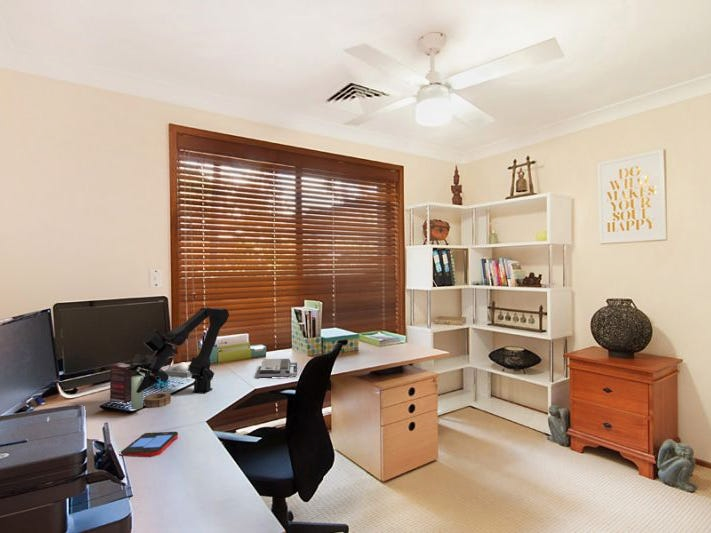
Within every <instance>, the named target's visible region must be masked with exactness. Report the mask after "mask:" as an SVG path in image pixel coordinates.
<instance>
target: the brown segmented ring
mask: <svg viewBox="0 0 711 533" xmlns="http://www.w3.org/2000/svg"><path fill="white" fill-rule="evenodd" d="M171 398H172V395H171V393H170V392H164V391H163V392H154V393H149V394H147V395H145V397H143V405H144V404H145V408H150V409H151V408H152V409H153V408H162V407H164V406H167V405H169V404H170V403H171V401H172V399H171Z"/></svg>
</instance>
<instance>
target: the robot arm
mask: <svg viewBox="0 0 711 533" xmlns="http://www.w3.org/2000/svg"><path fill="white" fill-rule="evenodd" d="M229 316H230V313H229V310H228V309H226V308H223V307H222V308H220V307H214V308H211V307H205V306H203V307H200V308H199V310H198V311H197V312H196V313H194V314H193V315H192V316H190V318H188V320H186V321H185V322H184V323H183V324H181V325H180V326H177V327H174V328H172V329H171V330H169V331H167V332H166V334H161V332H160V331H159V330H158V329H153V330H152V331H150V332H148V333H147V334H145V335H144V336H143V337H142V340H141V342H142V343H143V345H145V346H146V347H147V348H149V350H151V351H152V352H154V353H153V354H148V353H147V354H146V355H141V354H135V356H134V358H133V360H132V363H130V364H131V365H130V366H129V367H128V368H129V369H130V370H132V371H133V372H134V376H138V375H142V376H143V382H142V383H141V385H140V386H139V388H138V389H137V391H136V392H137V393H140V392H141V391H143V392H144V391H145V390H146V389H148V388H150V387H153V386H152V385H154V384H155V383H158V382H159V381H158V380H159V379H161V382H165V383H166V381H167V380H169V378H170V377H169V375H168V374H167V373H165V372H164V370H163V369H162V367H163V366H164V367H166V366H167V363H166V362H167V361H168V360H169V358H170V357H171V356H172V355H173V354H174V355H178V353H179V352H178V347H176V346H182V345H183V344H184V343H185V342H186V340H187V339H188V337H189V334H191V332H193V331H194V329H196V328H197V327H198V326H199V325H200V324H201V323H203V322H204V321H205V320H206V319H207V318H208V317H209V318H208V320H209V326H208V329H207V332H206V334H205V337H204V340H203V342H202V345H201V347H200V351H199V352H198V355H197V356H196V357H191V361H190V363H189V364H188V365H189V366H190V368H189V370H188V372H189V371H190V373H191V374H192V376H191V377H192V378H194V380H193V390H192V393H196V394H207V393H208V392H211V391H212V390H213V388H212V386H211V383H212V381H211V380H212V379H213V378H214V375H215V372H214V371H212V369H210V368H211V355H212V352H213V349H214V347H215V344H216V341H217V338H218V336H219V332H220V331H221V328H222V327H223V326H224V325H225V324H226V322H227V320H228V319H229ZM174 346H175V347H174ZM155 385H156V384H155ZM155 385H154V386H155ZM131 386H132V384H131ZM130 391H131V387H130Z"/></svg>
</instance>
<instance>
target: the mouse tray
mask: <svg viewBox="0 0 711 533" xmlns="http://www.w3.org/2000/svg"><path fill="white" fill-rule="evenodd" d="M189 365H190V364H188V367H189V368H190V366H189ZM177 366H178V365H175V366H173V367H170V368H168V369H165V370H163V371H164V372H165V373H167V374H168V375H169V376H170V377H174V376H178V378H184V377H186V379H187V377H188V378H190V377H192V374H191V373H190V371H189V368H188V370H187V371H186V372H179V371H178V370H177Z"/></svg>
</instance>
